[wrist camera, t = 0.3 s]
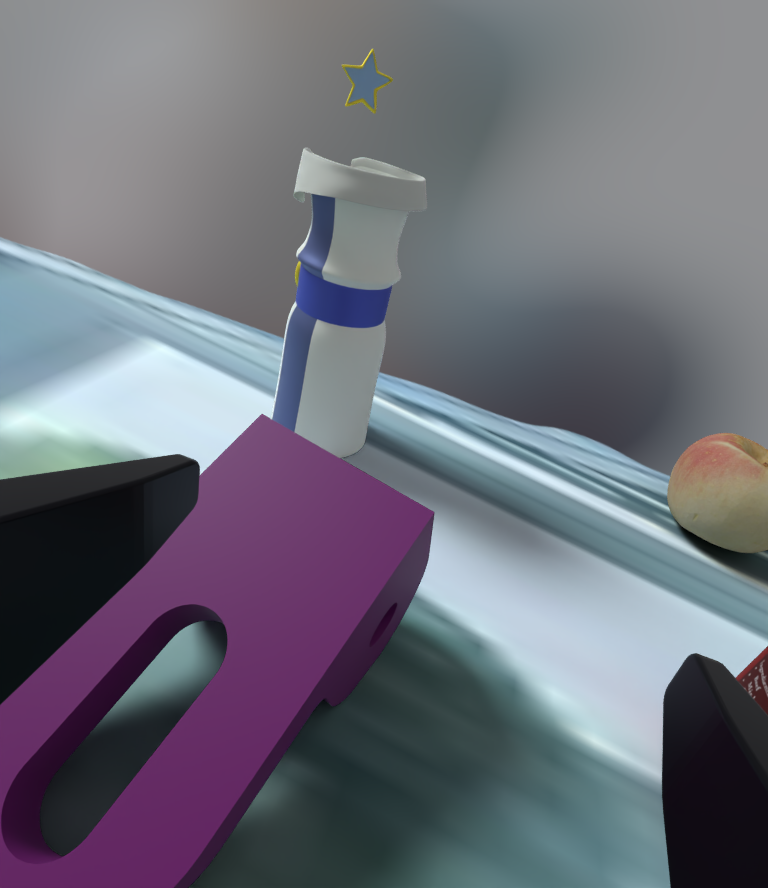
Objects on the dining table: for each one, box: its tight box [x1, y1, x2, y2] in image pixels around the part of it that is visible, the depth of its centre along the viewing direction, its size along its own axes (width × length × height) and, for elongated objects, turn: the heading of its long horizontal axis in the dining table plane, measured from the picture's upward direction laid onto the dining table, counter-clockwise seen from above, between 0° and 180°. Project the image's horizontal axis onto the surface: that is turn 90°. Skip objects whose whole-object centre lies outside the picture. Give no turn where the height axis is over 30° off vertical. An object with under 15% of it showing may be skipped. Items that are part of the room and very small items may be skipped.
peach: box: [667, 433, 768, 553], centre depth 40 cm, size 9×9×8 cm
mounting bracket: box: [0, 414, 435, 888], centre depth 22 cm, size 9×8×18 cm
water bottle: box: [271, 49, 427, 458], centre depth 35 cm, size 8×9×25 cm
